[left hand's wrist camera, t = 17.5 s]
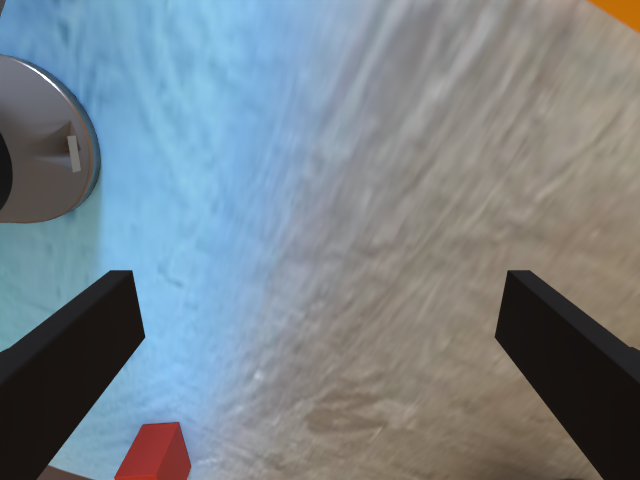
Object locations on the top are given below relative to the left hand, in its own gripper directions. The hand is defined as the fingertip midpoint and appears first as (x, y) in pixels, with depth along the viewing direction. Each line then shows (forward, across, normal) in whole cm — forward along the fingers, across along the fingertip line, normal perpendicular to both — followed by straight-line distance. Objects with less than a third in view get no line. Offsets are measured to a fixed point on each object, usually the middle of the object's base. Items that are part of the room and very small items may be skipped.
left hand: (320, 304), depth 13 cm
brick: (+25, -21, -37) cm, 49 cm away
